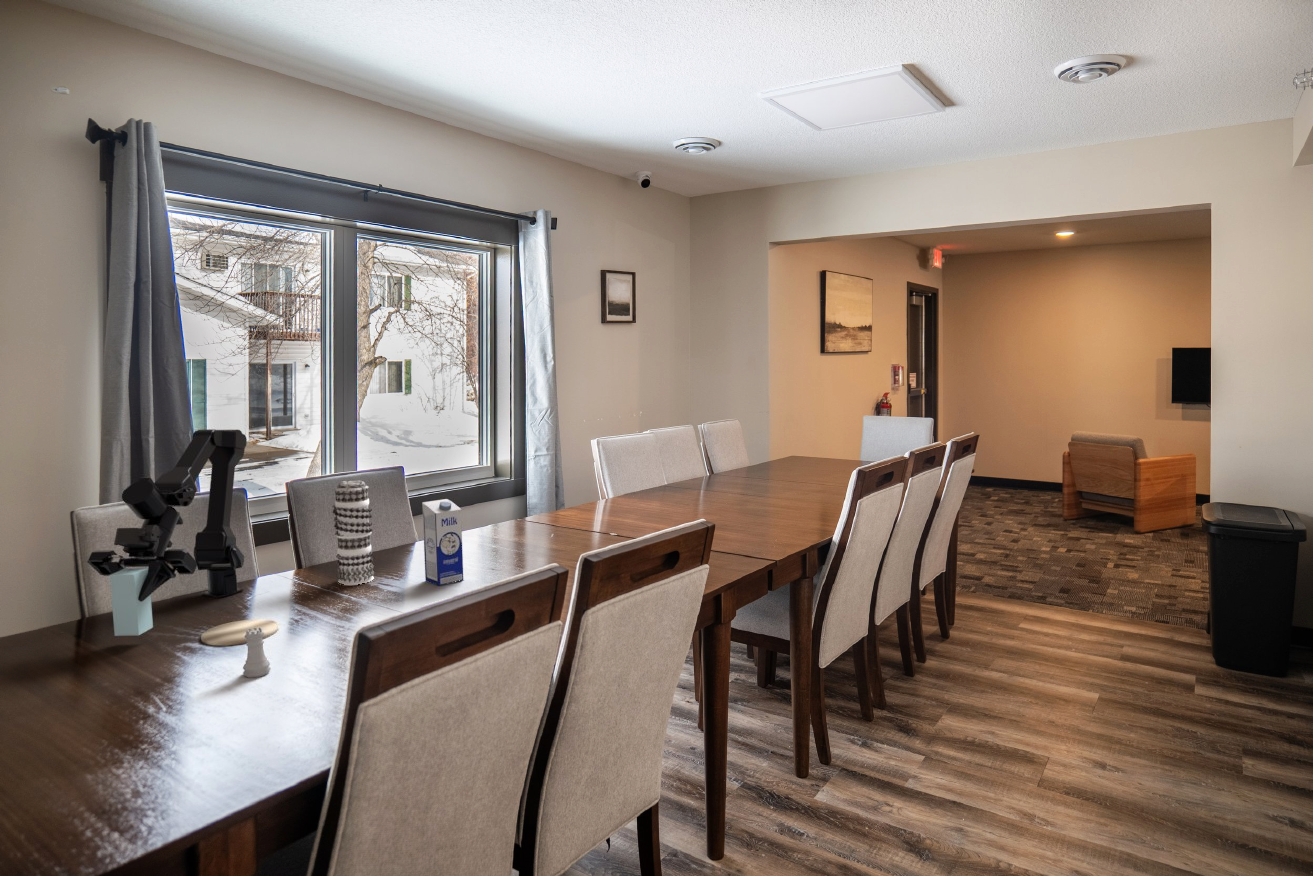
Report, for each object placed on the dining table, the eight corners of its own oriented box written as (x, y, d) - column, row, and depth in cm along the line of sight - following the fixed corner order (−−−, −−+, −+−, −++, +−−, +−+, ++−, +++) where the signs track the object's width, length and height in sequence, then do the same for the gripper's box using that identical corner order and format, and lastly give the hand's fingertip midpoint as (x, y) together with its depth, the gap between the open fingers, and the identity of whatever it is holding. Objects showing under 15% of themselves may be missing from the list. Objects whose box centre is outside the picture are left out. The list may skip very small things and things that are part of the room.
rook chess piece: (249, 669, 146) (246, 626, 145) (274, 668, 146) (272, 625, 146) (238, 679, 142) (235, 634, 141) (265, 678, 142) (262, 633, 141)
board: (186, 638, 162) (185, 635, 162) (250, 618, 174) (250, 615, 174) (230, 650, 155) (230, 647, 155) (293, 628, 168) (293, 625, 168)
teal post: (129, 627, 161) (124, 568, 160) (153, 627, 161) (148, 568, 160) (114, 635, 157) (109, 575, 155) (138, 635, 157) (134, 574, 155)
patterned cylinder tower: (327, 583, 200) (322, 483, 198) (354, 574, 209) (350, 478, 206) (357, 587, 197) (352, 485, 194) (383, 577, 205) (378, 480, 203)
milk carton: (450, 575, 207) (447, 497, 205) (464, 580, 202) (461, 501, 200) (424, 581, 202) (421, 501, 200) (438, 586, 197) (435, 505, 195)
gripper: (89, 510, 160) (54, 581, 150) (184, 509, 161) (156, 579, 151) (117, 540, 169) (86, 609, 159) (208, 539, 169) (182, 607, 160)
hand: (127, 600), depth 157 cm, fingers closed on teal post, 5 cm apart
